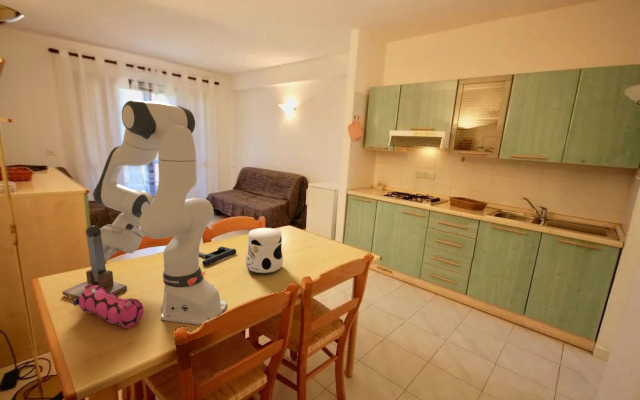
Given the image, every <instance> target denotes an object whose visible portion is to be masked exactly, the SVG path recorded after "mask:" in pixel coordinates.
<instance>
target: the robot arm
mask: <svg viewBox="0 0 640 400" xmlns="http://www.w3.org/2000/svg"><path fill="white" fill-rule="evenodd" d="M121 120H122V124H123V127H125V130H124V134H123V139H122V143H121V145H120V146H115V147H113V149H112V150H111V151H110V153H109V155H108V156H107V158H106V161H105V165H104V167H103V169H102V172H101V176H100V177H99V181H98V183H97V184H96V186H95V188H94V190H93V192H92V197H93V199H94V202H95V204H96V205H99V206H102V207H105V208H109V209H113V210H115V211H118V212H121V213H119V214H118V215H117V216H116V218H115V220H114V221H113V222H112V223H111V224H110V223H108V224H105V225H103V226H102V227H99V228H100V229H101V238H102V245H103V252H104V260H105V261H108V260H109V259H111V257H112V256H114V255H115V254H116V253H117V252H118V251H119V252H123V253H127V254H131V255H132V254H133V253H135V252H137V249H139V247H140V245H141V243H142V241H143V238H145V236H146V237H147V238H148V239H151V240H152V239H153V240H156V239H157V240H160V239H166V238H167V239H168V238H171V237H172V239H171V240H170V242H169V243H168V244H166V246H165V248H164V250H163V271H162V281H163V283H164V288H163V297H162V304H161V307H160V312H161V315H160V316H161V317H160V319H161V320H162V321H168V322H175V323H181V324H182V323H183V324H192V325H197V326H198V325H199V326H202V325H201V324H202V323H203V322H205V321H207V320H210V319H212V318H214V317H216V316H218V315H219V314H220V315H221V314H222V313H223V312H224V311H225V310H226V308H227V300H223V299H221V296H220V293H219V291H218V289H217V288H216V287H215V285H213V284H211V282H209V281H208V280H207V279H205V277H204V276H205V275H206V272H207V271H206V270H205V271H203V272H202V268H201V266H200V256H199V252H200V247H201V241H202V238H203V235H204V232H205V231H206V228H207V227H208V225H209V224H210V222H211V221H212V220H213V218H214V215H215V213H214V207H213V205H212V203H211V202H210V201H209V200H208V199H206V198H201V197H191V198H187V196H188V194H189V193H190V191H191V190H192V189H193V188H194V187H195V186H196V185H197V155H196V154H197V153H196V147H195V141H194V135H193V132H194V130H195V127H196V119H195V116H194V114H193V112H192V111H191V110H190V109H188V108H186V107H184V106H180V105H174V104H168V103H163V102H159V101H153V100H152V101H150V100H149V101H148V100H147V101H145V100H141V99H135V100H134V99H133V100H129V101H126V102H125V104H124V105H123V106H122V109H121ZM157 157H158V158H157ZM156 158H157V159H158V185H157V190H156V192H155V195H154V196H153V195H152V194H151V193H149V192H147V191H145V190H139V191H138V190H135V189H133V188H129V187H126V186H124V185H122V184H120V183H119V182H118V178H119V174H120V172H121V170H122V167H124V166H128V167H129V166H131V167H140V166H147V165H149V164H151V163H153V162H154V161H155V160H156ZM220 315H219V316H220ZM219 316H218V317H219ZM216 318H217V317H216Z"/></svg>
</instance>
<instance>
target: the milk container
mask: <svg viewBox="0 0 640 400" xmlns="http://www.w3.org/2000/svg"><path fill="white" fill-rule="evenodd" d="M247 239H248V240H247V247H248V248H247V254H246V257H245V264H246V267H247V269H248V270H249V272H251V273H255V274H261V275H262V274H263V275H266V274H267V275H268V274H272V273H275V272H278V271H279V270H280V269H281V267H282V266H283V263H284V262H283V261H284V255H283V253H282V243H283V242H282V239H283V238H282V231H280V230H279V229H276V228H272V227H259V228H254V229H251V230H250V231H249V232H248V235H247Z"/></svg>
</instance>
